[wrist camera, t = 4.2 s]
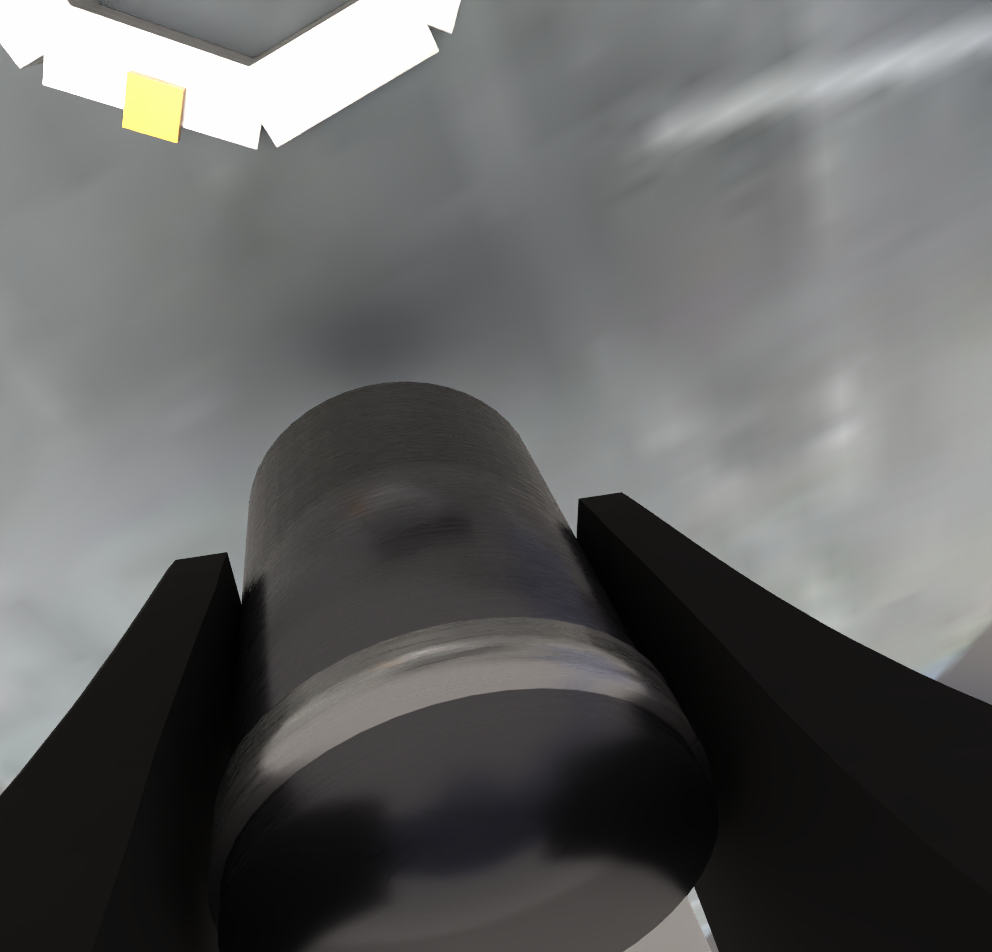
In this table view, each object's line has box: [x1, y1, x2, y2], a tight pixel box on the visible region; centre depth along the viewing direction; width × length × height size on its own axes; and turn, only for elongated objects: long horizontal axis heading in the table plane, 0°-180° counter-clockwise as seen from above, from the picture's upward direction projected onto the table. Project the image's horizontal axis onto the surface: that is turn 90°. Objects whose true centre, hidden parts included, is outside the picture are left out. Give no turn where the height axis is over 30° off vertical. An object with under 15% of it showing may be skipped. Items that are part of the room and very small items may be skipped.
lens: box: [208, 382, 719, 952], centre depth 9 cm, size 5×5×6 cm
